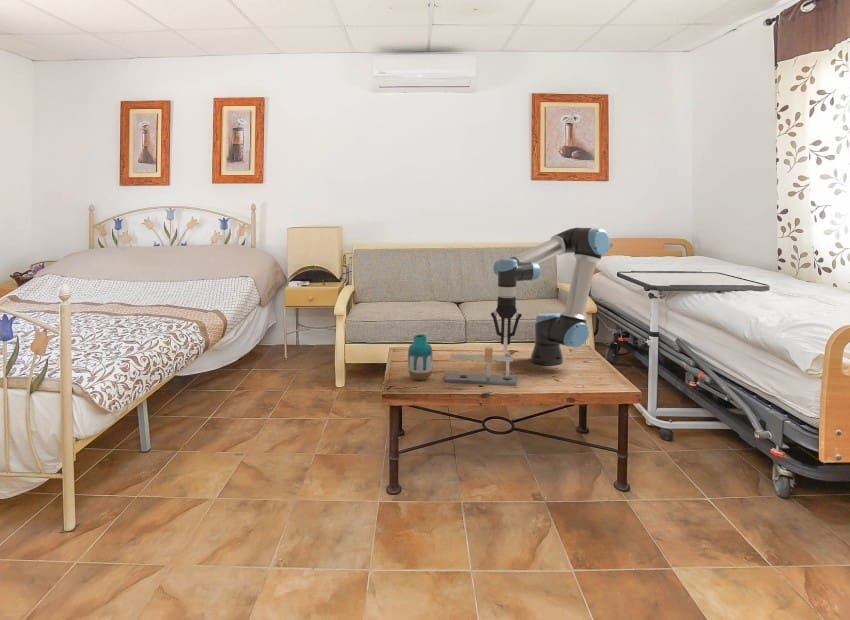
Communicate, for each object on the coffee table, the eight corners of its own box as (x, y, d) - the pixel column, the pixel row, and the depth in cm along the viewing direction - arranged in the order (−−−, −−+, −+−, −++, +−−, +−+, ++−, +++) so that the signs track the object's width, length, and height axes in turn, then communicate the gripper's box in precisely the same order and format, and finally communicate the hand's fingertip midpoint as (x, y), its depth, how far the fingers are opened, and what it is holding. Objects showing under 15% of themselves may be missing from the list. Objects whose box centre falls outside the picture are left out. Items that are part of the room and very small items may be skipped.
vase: (407, 375, 232) (407, 333, 229) (431, 374, 233) (431, 332, 230) (408, 383, 222) (408, 338, 218) (433, 382, 223) (433, 338, 219)
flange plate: (516, 378, 228) (517, 375, 228) (516, 385, 218) (516, 382, 218) (448, 374, 233) (448, 371, 233) (444, 381, 223) (444, 378, 223)
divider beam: (512, 377, 224) (512, 353, 222) (512, 379, 222) (512, 355, 220) (451, 374, 229) (451, 351, 227) (450, 376, 226) (450, 352, 224)
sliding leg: (492, 375, 226) (492, 346, 224) (491, 377, 223) (492, 349, 220) (485, 374, 227) (485, 346, 224) (484, 377, 223) (485, 348, 221)
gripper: (522, 295, 220) (521, 350, 224) (491, 294, 222) (490, 349, 226) (522, 298, 212) (521, 354, 217) (490, 297, 215) (489, 353, 219)
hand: (505, 351), depth 221 cm, fingers closed
